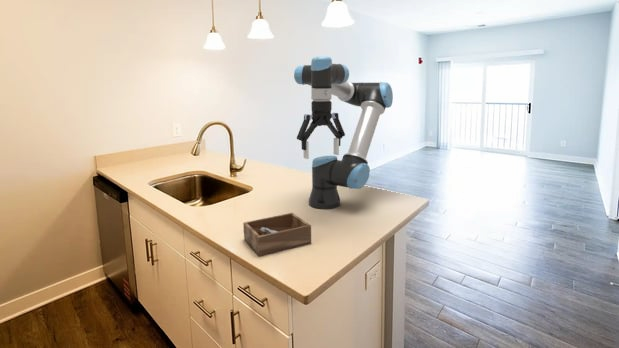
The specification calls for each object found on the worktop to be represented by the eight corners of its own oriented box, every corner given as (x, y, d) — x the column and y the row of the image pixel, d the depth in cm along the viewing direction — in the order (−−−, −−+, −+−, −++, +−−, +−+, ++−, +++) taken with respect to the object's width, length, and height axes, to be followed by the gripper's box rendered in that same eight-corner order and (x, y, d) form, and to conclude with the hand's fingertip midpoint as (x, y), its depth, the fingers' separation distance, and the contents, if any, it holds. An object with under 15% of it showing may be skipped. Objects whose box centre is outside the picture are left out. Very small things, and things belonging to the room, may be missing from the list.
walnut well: (244, 240, 129) (243, 222, 128) (292, 229, 139) (292, 212, 137) (259, 256, 117) (258, 237, 115) (311, 243, 126) (311, 225, 124)
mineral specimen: (273, 234, 134) (272, 223, 133) (294, 241, 125) (294, 229, 125) (259, 238, 129) (259, 227, 128) (281, 246, 121) (280, 234, 120)
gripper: (296, 101, 121) (297, 161, 126) (354, 99, 133) (353, 154, 138) (286, 101, 127) (288, 158, 132) (343, 99, 139) (342, 151, 144)
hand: (321, 156), depth 135 cm, fingers open, 13 cm apart
